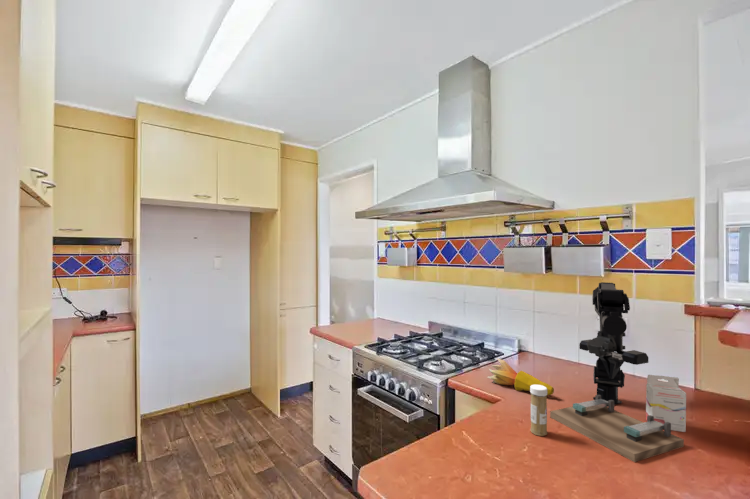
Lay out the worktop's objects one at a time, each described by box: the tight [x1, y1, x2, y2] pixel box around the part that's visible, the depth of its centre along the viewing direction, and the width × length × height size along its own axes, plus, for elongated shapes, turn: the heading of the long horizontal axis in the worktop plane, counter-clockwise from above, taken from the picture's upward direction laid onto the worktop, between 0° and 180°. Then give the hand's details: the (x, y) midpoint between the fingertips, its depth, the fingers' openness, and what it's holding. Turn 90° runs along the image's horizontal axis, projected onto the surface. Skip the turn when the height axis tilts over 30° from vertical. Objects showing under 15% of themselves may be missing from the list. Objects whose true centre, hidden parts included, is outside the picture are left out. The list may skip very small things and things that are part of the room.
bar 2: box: [624, 420, 664, 437], centre depth 100 cm, size 13×3×1 cm, turn 111°
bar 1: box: [572, 399, 608, 412], centre depth 115 cm, size 13×3×1 cm, turn 111°
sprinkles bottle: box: [529, 385, 548, 437], centre depth 105 cm, size 5×5×14 cm
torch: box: [487, 357, 555, 396], centre depth 138 cm, size 8×8×25 cm
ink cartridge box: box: [645, 374, 687, 433], centre depth 109 cm, size 9×5×15 cm, turn 71°
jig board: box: [549, 394, 685, 463], centre depth 106 cm, size 20×26×6 cm
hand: (611, 378), depth 114 cm, fingers closed
